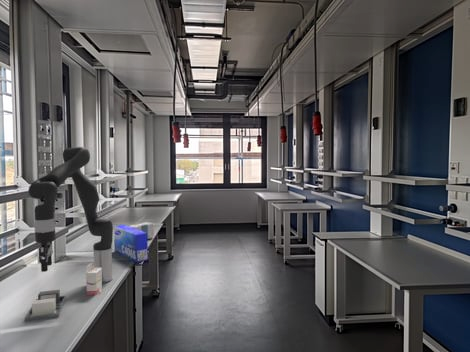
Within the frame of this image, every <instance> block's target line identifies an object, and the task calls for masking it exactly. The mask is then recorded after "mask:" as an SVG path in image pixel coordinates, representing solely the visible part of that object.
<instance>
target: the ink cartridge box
mask: <svg viewBox="0 0 470 352" xmlns="http://www.w3.org/2000/svg"><path fill="white" fill-rule="evenodd" d="M93 266H94V261H92V262H91V263H89V264H88V265H87V266H86V273H85V274H86V275H85V279H86V295H87V296H88V295H89V296H90V295H97V294H100V293H101V292H102V291H103V282H102V268H94V267H93Z"/></svg>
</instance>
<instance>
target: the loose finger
mask: <svg viewBox="0 0 470 352" xmlns="http://www.w3.org/2000/svg"><path fill="white" fill-rule="evenodd" d="M31 307H32V316H37V315H45V314H53V313H55V312H56V299H55V298H52V299H43V300H36V299H34V300H33V302H31Z"/></svg>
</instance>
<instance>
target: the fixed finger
mask: <svg viewBox="0 0 470 352" xmlns="http://www.w3.org/2000/svg"><path fill="white" fill-rule="evenodd" d="M60 296H61V289H55V290H47V291H39V292H38V294H37V299H38V300H43V299H52V298H55V299H56V304H57V303H60Z"/></svg>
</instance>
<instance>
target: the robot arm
mask: <svg viewBox="0 0 470 352" xmlns="http://www.w3.org/2000/svg"><path fill="white" fill-rule="evenodd" d="M62 159H63V163H61V164H59V165H57V166H56V167H53V168H52V169H51V170H50V171H49V172H48V173H47V174H46V175H43V176H41V177H40V178H38V179H36V180H34V181H32V183H30V185H29V187H28V194H29V195H28V196H30V198H32V199H34V200H44V202H43V203H41V204H37V205H36V206H35V207H34V241H35V243H36V244H37V243H38V244H39V243H40V246H39V247H38V263H40V268H41V269H40V270H41V272H42V273H43V272H48V269H49V268H48V266H52V264H53V260H52V258H53V257H52V256H53V253H54V250H53V242H54V241H56V239H57V238H56V223H55V210H54V209H55V204H56V199H57V196H58V192H59V191H58V188H59V187H60V186H62V185H63V184H64V182H65V181H66V180H67V179H68V178H69V177H71V179H72V182H73V184H74V187H75V189H76V192H77V195H78V198H79V201H80V204H81V205H82V209H83V212H84V215H85V219H86V223H87V227H88V231H89V233H90V234H91V235H92V236H95V237H100V241H97V242H96V243H94V244H93V247H92V248H93V268H102V283H107V282H111V281H112V280H113V256H112V255H113V253H112V251H113V249H112V245H113V241H114V226H113V222H112V220H110V219H108V218H107V219H105V218H104V219H103V218H99V217H98V214H97V207H98V204H99V201H100V194H99V192H98V189H97V186H96V185H95V183H94V182H93V181H92V180H91V179H89V177H88V176H86V175H85V174H84V173H83V172H82V170H81V168H83V167H85V166H86V165H88V164H89V163H90V160H91V155H90V151H89V150H88V148H86V147H84V146H77V147H68V148H65V149H64V150H63V151H62Z"/></svg>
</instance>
